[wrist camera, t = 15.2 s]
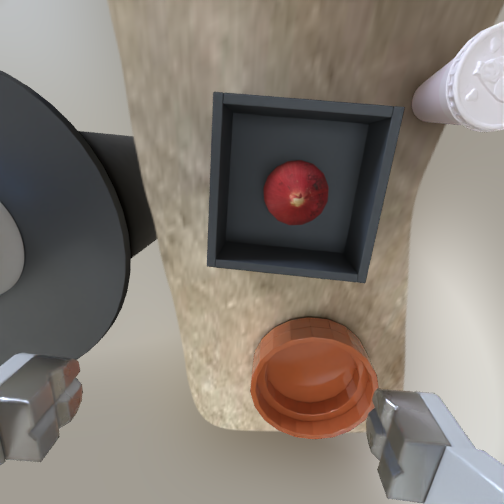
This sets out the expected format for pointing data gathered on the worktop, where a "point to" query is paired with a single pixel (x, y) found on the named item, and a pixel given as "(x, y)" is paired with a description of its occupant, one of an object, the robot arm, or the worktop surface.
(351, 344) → the bowl
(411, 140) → the worktop surface
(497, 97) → the smoothie
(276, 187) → the pomegranate
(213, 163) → the bin
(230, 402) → the worktop surface
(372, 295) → the worktop surface
